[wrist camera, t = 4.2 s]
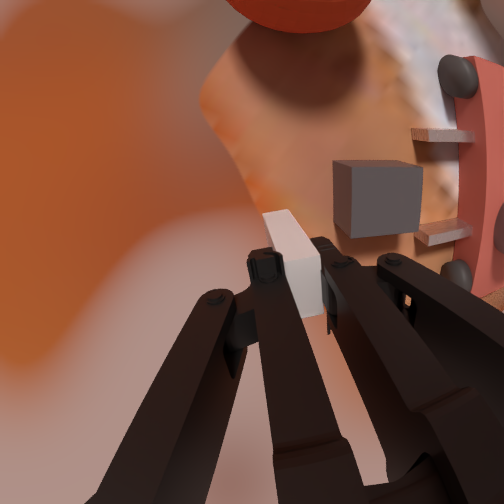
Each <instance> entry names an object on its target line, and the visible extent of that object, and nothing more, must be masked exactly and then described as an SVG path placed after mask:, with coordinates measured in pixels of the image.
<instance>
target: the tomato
mask: <svg viewBox="0 0 504 504" xmlns="http://www.w3.org/2000/svg"><path fill="white" fill-rule="evenodd" d="M226 1H227V2H228V3H229V4H230V5H231V6H232V7H233V8H234V9H235V10H237V11H238V12H239V13H241V14H242V15H244V16H245V17H246V18H248V19H250V20H252V21H254V22H256V23H258V24H260V25H262V26H265V27H268V28H271V29H274V30H279V31H284V32H289V33H318V32H324V31H329V30H334V29H336V28H338V27H341V26H343V25H345V24H347V23H349V22H351V21H352V20H354V19H355V18H357V17H358V16H359V15H360V14H361V13H362V12H363V11H364V9H365V8H366V7H367V6H368V4H369V3H370V2H371V0H226Z"/></svg>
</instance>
